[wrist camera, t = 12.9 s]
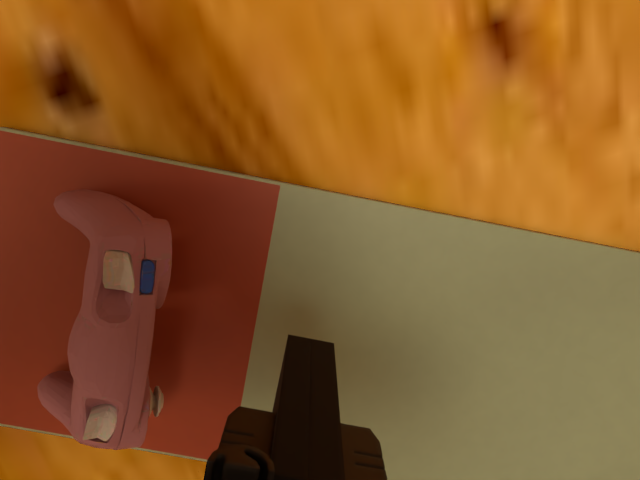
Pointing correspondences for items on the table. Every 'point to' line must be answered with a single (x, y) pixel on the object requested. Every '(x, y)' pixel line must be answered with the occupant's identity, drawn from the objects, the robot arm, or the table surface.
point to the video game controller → (112, 323)
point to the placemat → (336, 316)
